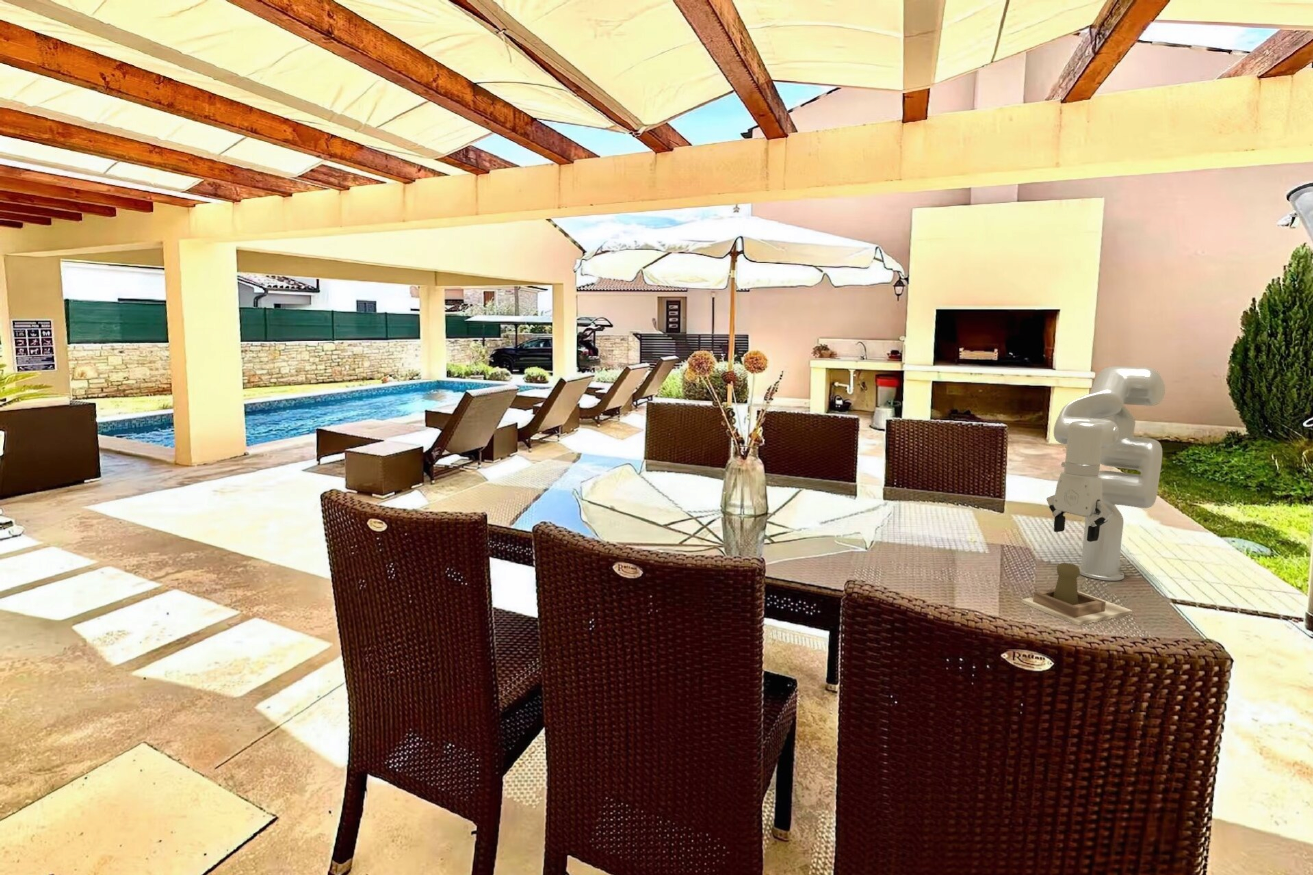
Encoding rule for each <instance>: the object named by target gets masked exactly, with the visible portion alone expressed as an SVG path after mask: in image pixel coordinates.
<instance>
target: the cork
mask: <svg viewBox="0 0 1313 875" xmlns="http://www.w3.org/2000/svg"><path fill="white" fill-rule="evenodd" d="M1076 565H1077V564H1073V563H1069V562H1061V563H1059V564H1058V565H1057V566H1056V574H1057V581H1056V584H1055V588H1054V589H1055V592H1054V596H1053V598H1055V599H1058V600H1061V601H1063V602H1066V603H1068V604H1071V605H1077V604H1078V593H1077V591H1078V579H1077V578H1079V577H1080V575H1081V574H1080V569H1079V567H1078V566H1076Z"/></svg>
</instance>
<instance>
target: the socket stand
mask: <svg viewBox="0 0 1313 875" xmlns="http://www.w3.org/2000/svg"><path fill="white" fill-rule="evenodd" d="M1054 592H1055V588H1051V589H1046V590H1042V591H1041V590H1040V591H1037V592H1036V591H1035V592H1033V597H1026V598H1022V599H1021V603H1022V604H1023V605H1024V604H1025V605H1026V606H1028V607H1031V608H1034V609H1036V610H1039V611H1041V612H1044V613H1046V614H1049V615H1051V616H1053V617H1055V618H1057V619H1060V620H1063V621H1065V620H1067V621H1066V622H1068V621H1069V623H1070V622H1072V623H1071V624H1073V625H1075V624H1076V625H1075V626H1077V627H1079V626H1084V625H1083V624H1085V625H1088V624H1093V623H1092V622H1094V623H1098V621H1099V622H1101V621H1100V620H1103V621H1107V620H1111V618H1112V619H1116V618H1120V617H1125V616H1130V615H1132V614H1133V610H1132V609H1129V608H1126V607H1124V606H1122V605H1118V604H1115V603H1113V602H1110V601H1107V600H1104V599H1102V598H1098V597H1096V596H1093V595H1090V594H1087V593H1085V592H1082V591H1080V590H1077V593H1078V604H1077V605H1071V604H1068V603H1066V602H1063V601H1061V600H1058V599H1055V598H1053V596H1054Z"/></svg>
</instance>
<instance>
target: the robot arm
mask: <svg viewBox="0 0 1313 875" xmlns="http://www.w3.org/2000/svg"><path fill="white" fill-rule="evenodd" d="M1088 393H1089V394H1086V395H1083V396H1080V397H1078V398H1077V399H1074V400H1072V401H1070V402H1068V403H1067V404H1065V405H1064V406H1063V408H1061V411H1059V414H1058V416H1057V419H1056V420H1055V424H1054V427H1053V436H1054V439H1055V441H1056V442H1057V443H1059V444H1060V445H1061V444H1063V445H1066V449H1065V458H1064V459H1065V461H1062V462H1061V467H1063V471H1062V472H1061V473H1060V475H1059V477H1058V480H1057V483H1056V487H1055V488H1056V489H1055V493H1054V494H1053V495H1050V496H1049V497H1046V502H1047V503H1048V507H1049V511H1050V512H1051V513H1052V517H1054V518H1053V519H1054V520H1053V532H1055V533H1058V532H1064V531H1065V527H1066V515H1065V514H1066V513H1067V514H1070V515H1074V516H1079V517H1085V521H1084V531H1083V542H1082V552H1081V559H1080V560H1081V563H1079V564H1075V565H1076V566H1078V567H1079V569H1080V575H1081V576H1083V577H1087V578H1091V579H1095V580H1100V581H1113V582H1116V581H1122V580H1124V578H1125V573H1124V572H1123V571H1121V570H1120V568H1122V567H1126V566H1127V565H1128V561H1127V560H1126V559H1120V558H1121V549H1122V541H1123V540H1122V539H1123V529H1124V517H1123V514H1122V513H1121V512H1120V510H1119V509H1118V507H1117V506H1126V507H1131V508H1133V507H1134V508H1138V509H1139V508H1141V509H1148V508H1149V509H1150V508H1151V507H1153V506H1154V505H1155V502H1156V500H1157V497H1158V490H1159V482H1160V475H1161V470H1162V463H1163V462H1162V461H1163V448H1162V444H1161V442H1159V441H1158V440H1157V439H1154V438H1149V437H1141V436H1140V437H1138V436H1134V434H1135V427H1136V419H1135V416H1134V415H1133V414H1132V412H1131V411H1130V410H1129V409H1128V408H1127V407H1126V405H1130V406H1144V407H1145V406H1146V407H1147V406H1148V407H1152V406H1153V407H1154V406H1157V405H1160V403H1161V402H1162V401H1163V399H1164V397H1165V394H1166V385H1165V381H1164V379H1163V378H1162V376H1161V374H1160V373H1159V372H1158V371H1157V370H1156V369H1154V368H1152V367H1147V366H1119V365H1117V366H1116V365H1114V366H1109V367H1108V366H1107V367H1106V368H1103V369H1102V370H1100V371H1099V373H1098V374H1097V376H1096V378H1095V380H1094V381H1093V385H1092V386H1091V389H1090V391H1089V392H1088ZM1101 465H1102V466H1106V467H1110V468H1119V469H1126V470H1136V471H1138V472H1140V474H1136V473H1129V472H1121V471H1113V470H1100V468H1101Z"/></svg>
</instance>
